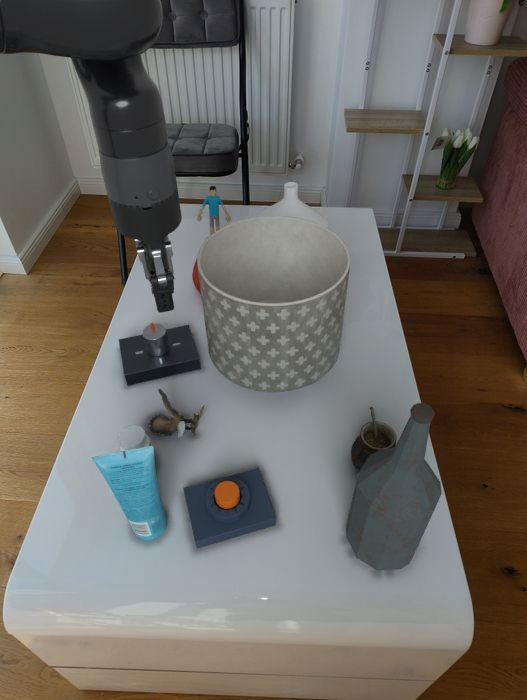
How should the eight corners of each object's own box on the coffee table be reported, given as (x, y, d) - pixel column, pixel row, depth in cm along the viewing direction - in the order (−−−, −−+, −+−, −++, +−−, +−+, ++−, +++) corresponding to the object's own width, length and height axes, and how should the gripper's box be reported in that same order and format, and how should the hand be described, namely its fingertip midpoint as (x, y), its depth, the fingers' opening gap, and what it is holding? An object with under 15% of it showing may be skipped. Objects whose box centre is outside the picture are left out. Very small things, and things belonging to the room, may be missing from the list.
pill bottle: (121, 474, 83) (110, 445, 77) (133, 450, 87) (123, 420, 81) (149, 481, 82) (139, 451, 77) (160, 456, 86) (152, 425, 80)
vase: (317, 288, 116) (322, 212, 103) (240, 274, 121) (236, 199, 107) (334, 244, 129) (341, 171, 115) (264, 233, 133) (263, 161, 119)
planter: (219, 312, 111) (209, 213, 94) (336, 317, 109) (347, 217, 93) (200, 403, 94) (183, 301, 77) (339, 410, 92) (353, 308, 75)
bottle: (408, 506, 79) (458, 373, 58) (424, 571, 72) (488, 447, 51) (341, 508, 79) (366, 376, 57) (350, 573, 72) (383, 451, 50)
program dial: (171, 353, 98) (168, 334, 95) (148, 359, 97) (144, 340, 94) (166, 338, 101) (163, 319, 98) (144, 343, 100) (140, 325, 97)
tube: (171, 504, 80) (150, 429, 66) (177, 532, 76) (156, 461, 63) (122, 518, 78) (90, 445, 64) (126, 548, 75) (93, 477, 61)
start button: (218, 512, 75) (217, 506, 73) (213, 490, 77) (212, 484, 76) (242, 505, 75) (242, 499, 74) (236, 484, 78) (235, 477, 77)
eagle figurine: (209, 407, 91) (162, 388, 92) (202, 404, 84) (152, 384, 85) (192, 447, 90) (145, 428, 91) (184, 448, 83) (133, 427, 84)
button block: (196, 548, 75) (193, 536, 72) (184, 495, 81) (181, 481, 78) (275, 525, 77) (275, 512, 74) (258, 474, 83) (257, 460, 80)
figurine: (232, 236, 132) (228, 181, 121) (232, 244, 130) (228, 188, 119) (200, 238, 131) (193, 183, 121) (199, 245, 129) (193, 190, 119)
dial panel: (127, 386, 97) (124, 374, 95) (121, 350, 104) (118, 338, 101) (200, 369, 100) (199, 357, 97) (190, 335, 106) (188, 323, 104)
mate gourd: (362, 490, 81) (370, 454, 74) (339, 452, 86) (345, 415, 79) (402, 475, 83) (414, 438, 76) (377, 438, 88) (387, 401, 81)
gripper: (101, 163, 59) (130, 284, 72) (111, 222, 50) (143, 348, 63) (166, 154, 61) (184, 273, 73) (187, 209, 52) (204, 335, 64)
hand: (165, 308), depth 68 cm, fingers closed
